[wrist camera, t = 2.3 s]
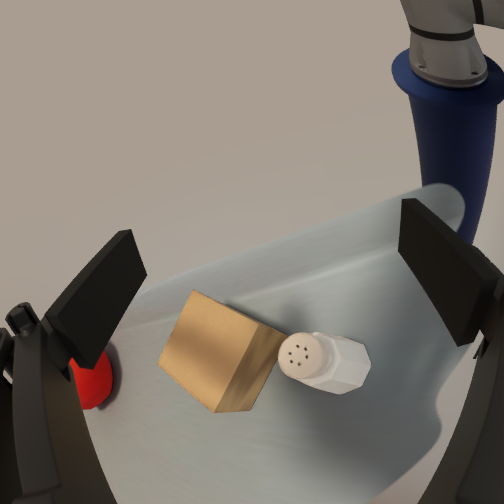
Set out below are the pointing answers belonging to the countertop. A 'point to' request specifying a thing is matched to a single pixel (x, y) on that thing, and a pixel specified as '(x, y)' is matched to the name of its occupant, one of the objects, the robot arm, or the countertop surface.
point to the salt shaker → (324, 361)
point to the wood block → (220, 354)
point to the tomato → (93, 382)
